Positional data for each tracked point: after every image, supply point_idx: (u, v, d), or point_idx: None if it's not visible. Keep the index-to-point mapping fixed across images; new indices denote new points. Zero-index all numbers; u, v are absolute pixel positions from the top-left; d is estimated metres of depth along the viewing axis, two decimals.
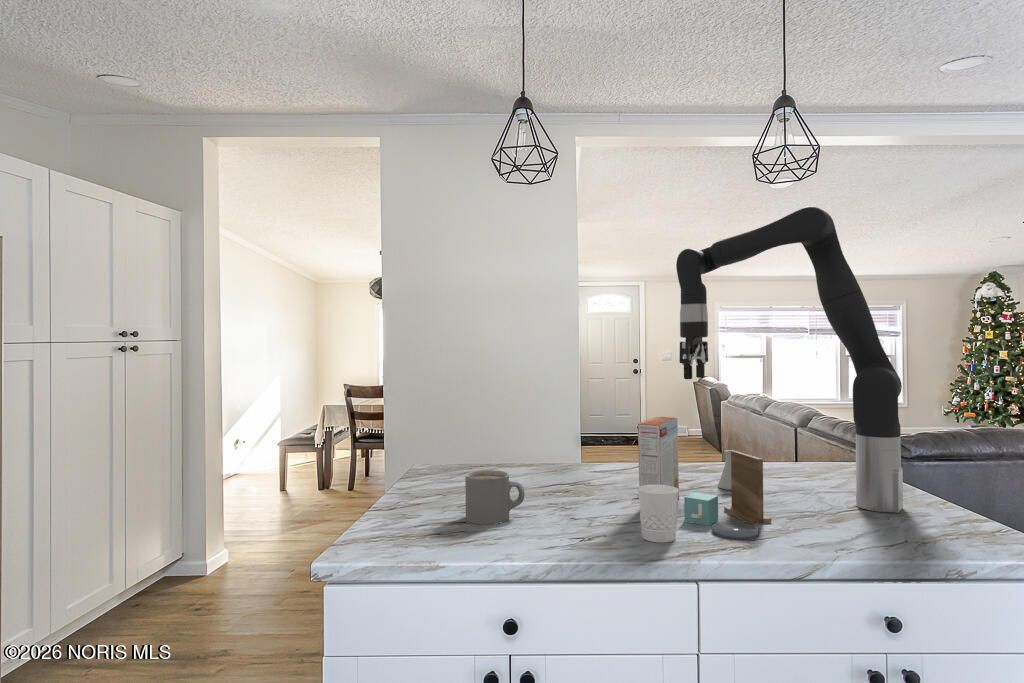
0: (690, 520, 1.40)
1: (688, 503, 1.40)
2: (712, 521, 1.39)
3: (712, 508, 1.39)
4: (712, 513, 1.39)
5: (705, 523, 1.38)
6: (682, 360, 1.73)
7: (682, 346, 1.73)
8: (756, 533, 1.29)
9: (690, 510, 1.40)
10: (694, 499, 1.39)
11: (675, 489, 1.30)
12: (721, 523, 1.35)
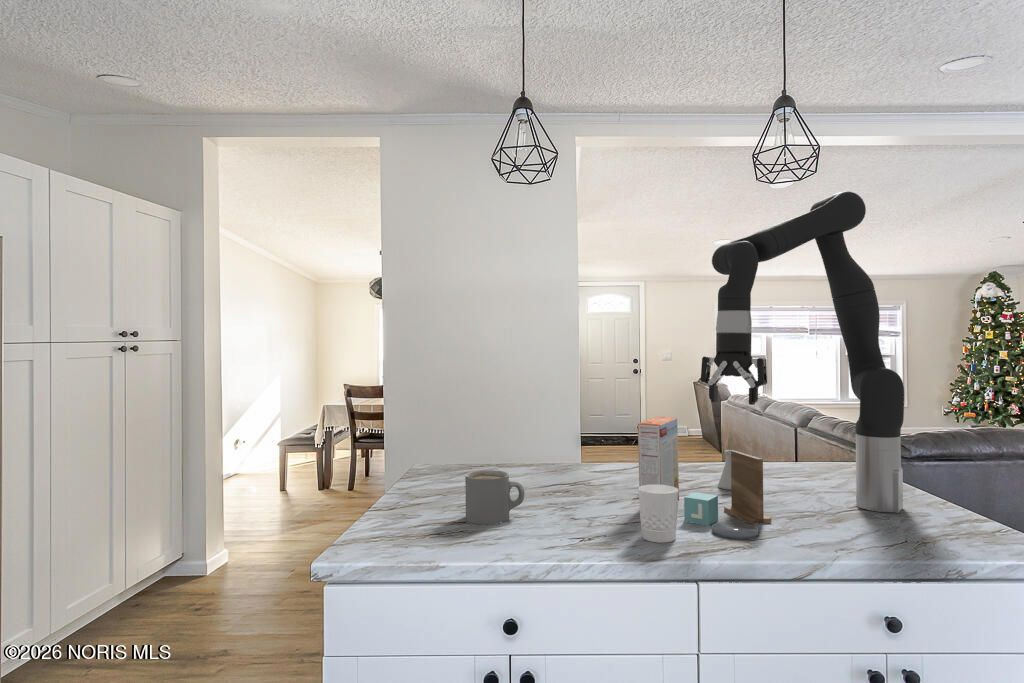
0: (690, 520, 1.40)
1: (688, 503, 1.40)
2: (712, 521, 1.39)
3: (712, 508, 1.39)
4: (711, 513, 1.39)
5: (705, 523, 1.38)
6: (764, 381, 1.39)
7: (763, 364, 1.39)
8: (756, 533, 1.29)
9: (690, 510, 1.40)
10: (694, 499, 1.39)
11: (675, 489, 1.30)
12: (721, 523, 1.35)
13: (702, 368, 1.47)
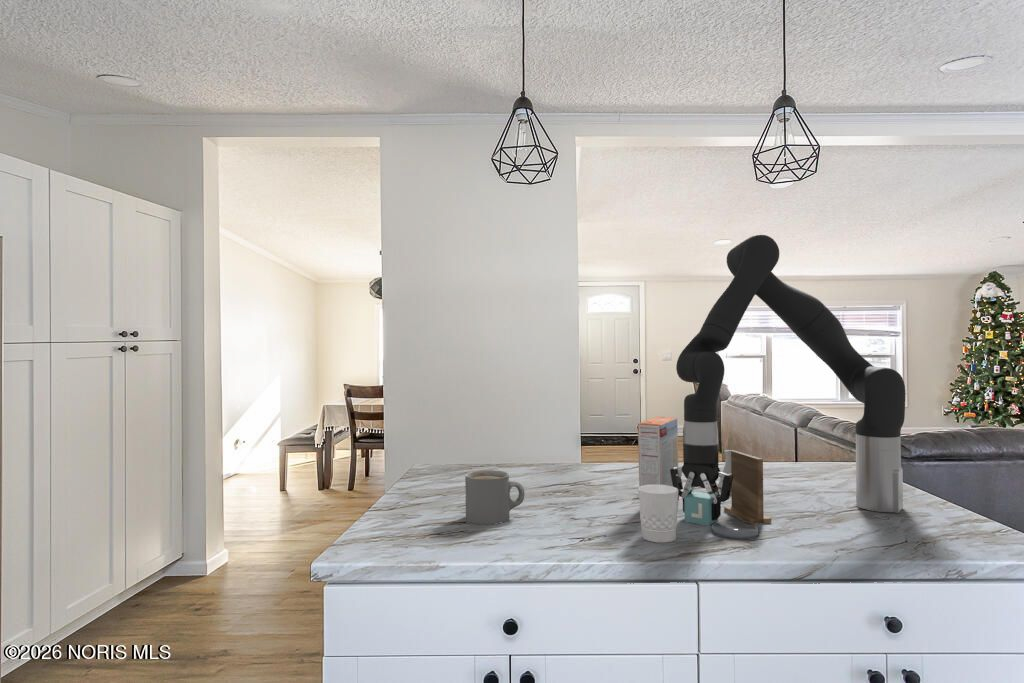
0: (690, 520, 1.40)
1: (688, 502, 1.40)
2: (712, 521, 1.39)
3: None
4: None
5: (705, 523, 1.38)
6: (726, 498, 1.37)
7: (729, 481, 1.37)
8: (756, 533, 1.29)
9: (690, 509, 1.40)
10: (694, 499, 1.39)
11: (675, 489, 1.30)
12: (721, 523, 1.35)
13: (673, 481, 1.44)
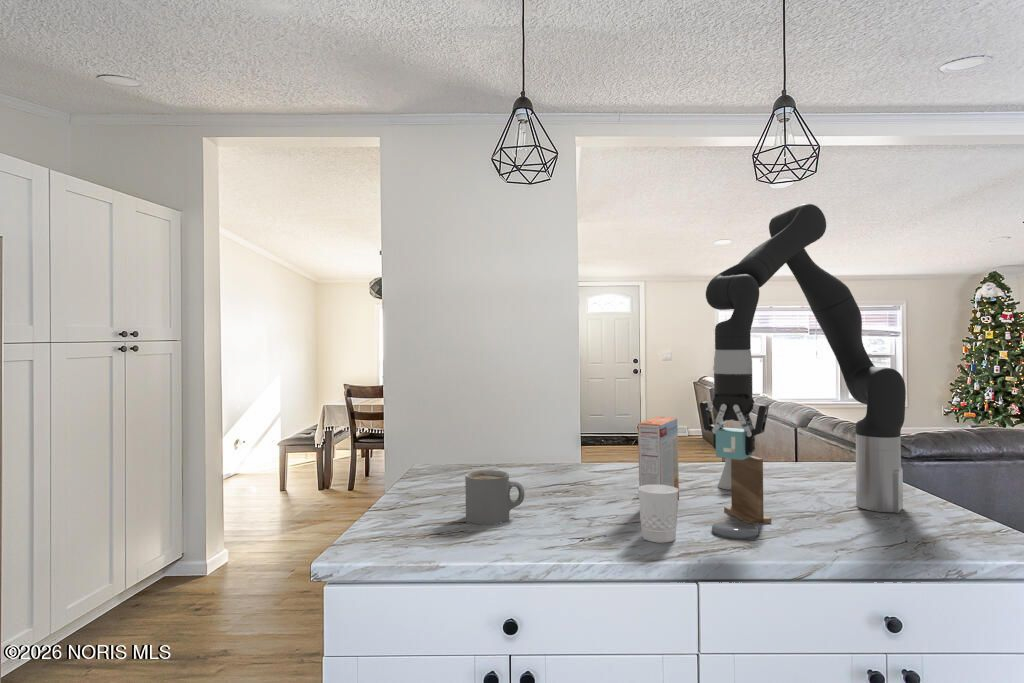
0: (722, 455, 1.31)
1: (719, 436, 1.31)
2: (746, 455, 1.30)
3: None
4: None
5: (739, 457, 1.29)
6: (761, 430, 1.28)
7: (764, 412, 1.27)
8: (756, 533, 1.29)
9: (722, 444, 1.31)
10: (726, 432, 1.30)
11: (675, 489, 1.30)
12: (721, 523, 1.35)
13: (702, 415, 1.35)
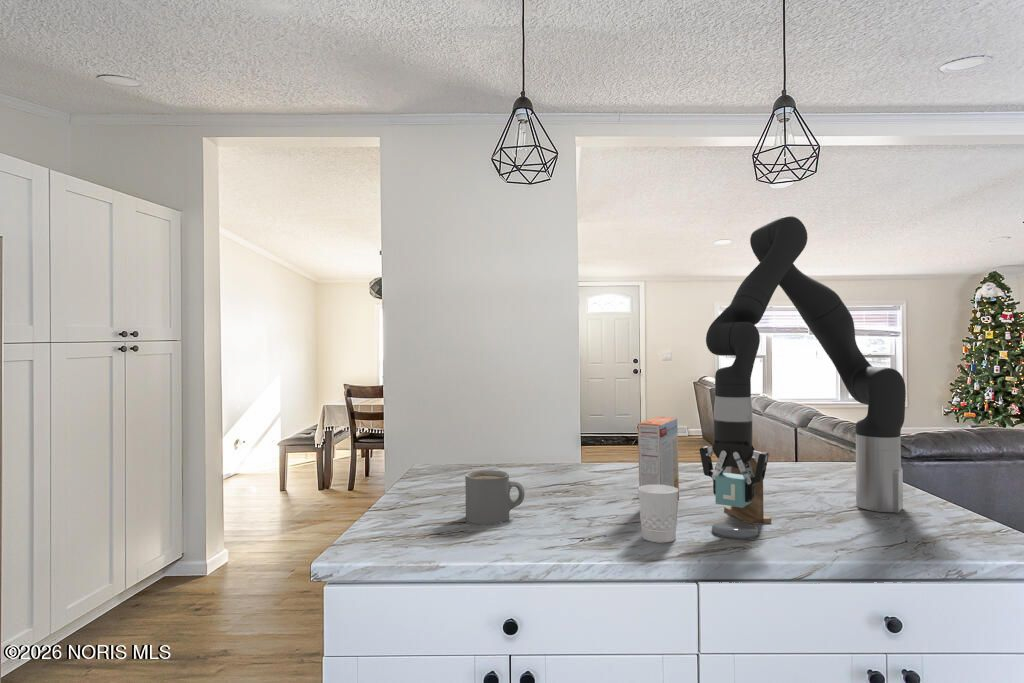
0: (722, 502, 1.31)
1: (719, 483, 1.31)
2: (745, 503, 1.30)
3: None
4: None
5: (738, 505, 1.29)
6: (761, 478, 1.28)
7: (764, 460, 1.28)
8: (756, 533, 1.29)
9: (722, 491, 1.31)
10: (726, 479, 1.30)
11: (675, 489, 1.30)
12: (721, 523, 1.35)
13: (702, 460, 1.35)
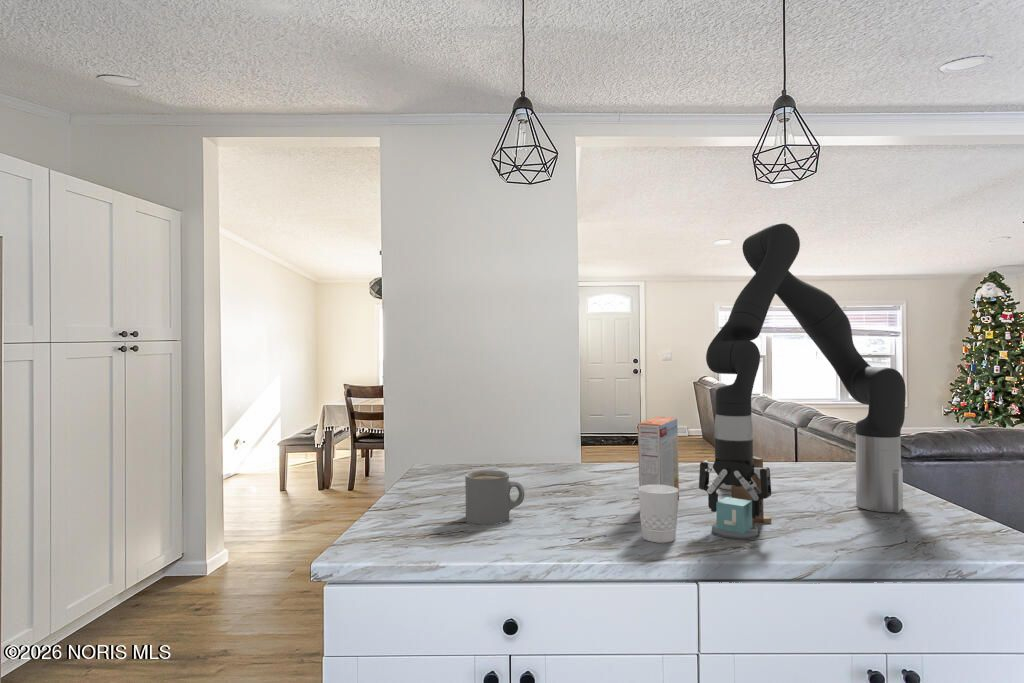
0: (723, 527, 1.31)
1: (720, 508, 1.31)
2: (747, 528, 1.30)
3: (747, 514, 1.30)
4: (746, 520, 1.30)
5: (739, 530, 1.29)
6: (768, 494, 1.27)
7: (767, 475, 1.27)
8: (756, 533, 1.29)
9: (723, 516, 1.31)
10: (727, 504, 1.30)
11: (675, 489, 1.30)
12: None
13: (700, 474, 1.35)
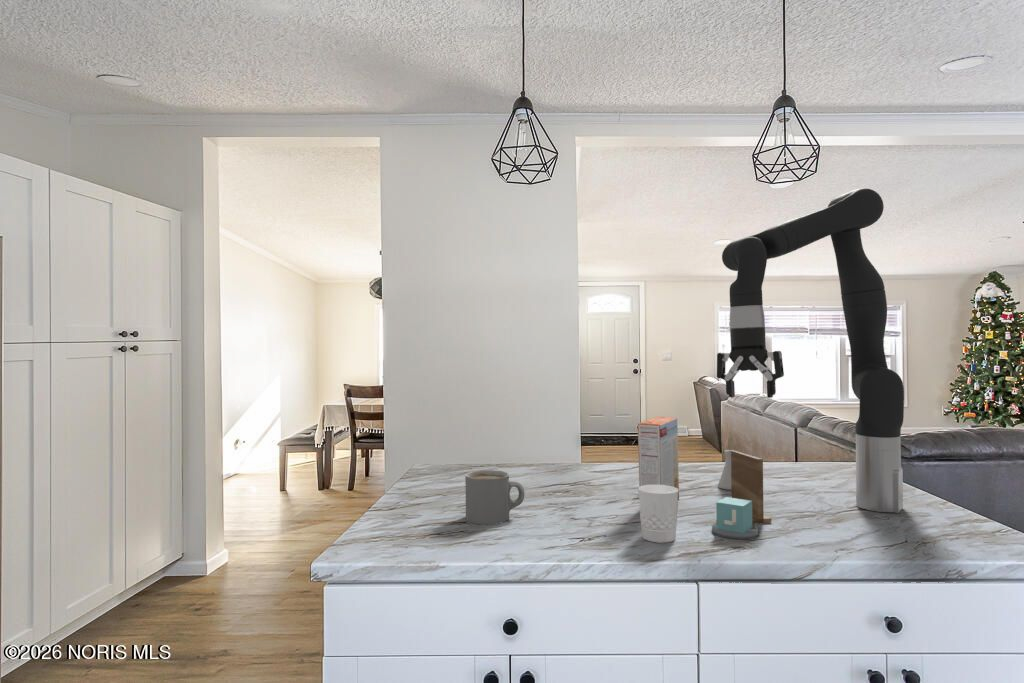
0: (723, 527, 1.31)
1: (720, 508, 1.31)
2: (747, 528, 1.30)
3: (747, 514, 1.30)
4: (746, 520, 1.30)
5: (739, 530, 1.29)
6: (781, 374, 1.40)
7: (779, 357, 1.41)
8: (756, 533, 1.29)
9: (723, 516, 1.31)
10: (727, 504, 1.30)
11: (675, 489, 1.30)
12: None
13: (718, 364, 1.48)
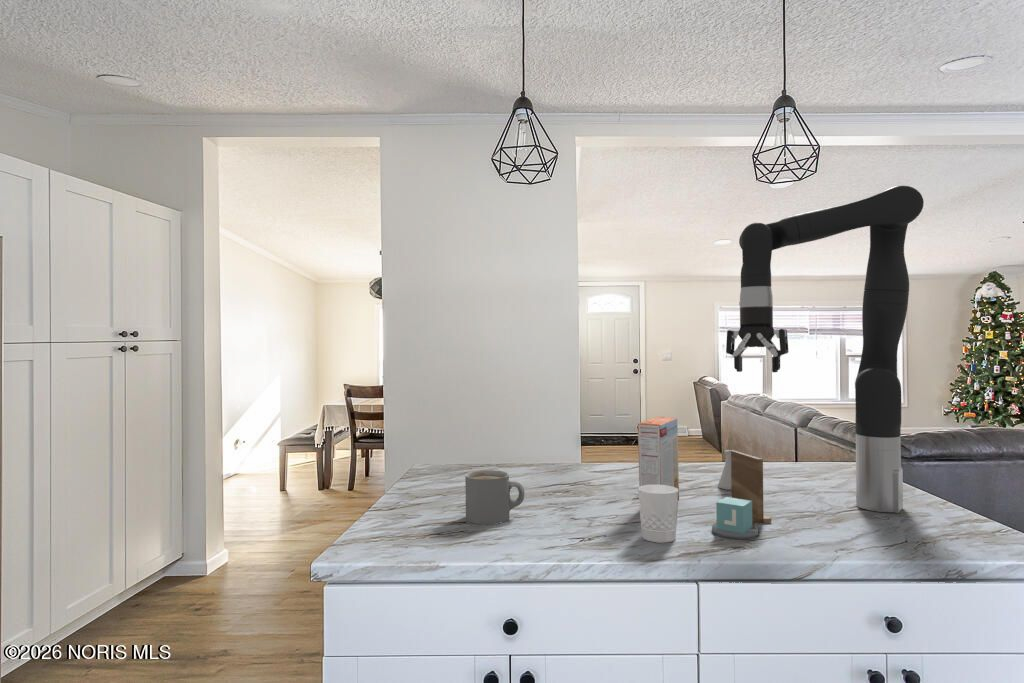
0: (723, 527, 1.31)
1: (720, 508, 1.31)
2: (747, 528, 1.30)
3: (747, 514, 1.30)
4: (746, 520, 1.30)
5: (739, 530, 1.29)
6: (786, 350, 1.51)
7: (784, 334, 1.51)
8: (756, 533, 1.29)
9: (723, 516, 1.31)
10: (727, 504, 1.30)
11: (675, 489, 1.30)
12: None
13: (727, 341, 1.59)
